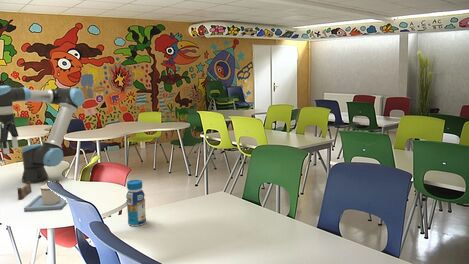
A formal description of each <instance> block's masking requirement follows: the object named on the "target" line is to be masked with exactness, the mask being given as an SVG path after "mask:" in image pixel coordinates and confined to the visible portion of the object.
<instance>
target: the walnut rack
mask: <svg viewBox="0 0 469 264" xmlns="http://www.w3.org/2000/svg"><path fill="white" fill-rule="evenodd" d="M55 181H56V182H58V183H59V184H60V180H59V179H55V180H54V182H55ZM31 184H32V183H30V181H27V182H26V183H25V185H24V186H23V187H18V188H16V189H17V196H18V201H19V200H20V201H21V200H23V199H24V198H26V197H27V196H28V195H29V194H30V193H32V185H31Z"/></svg>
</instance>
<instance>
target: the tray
mask: <svg viewBox="0 0 469 264" xmlns="http://www.w3.org/2000/svg"><path fill="white" fill-rule="evenodd" d="M67 204H68V203H66V200H64V199H63V198H61V197H60V202H59V203H57V204H53V205H44V204H43V203H42V194H39V195H37V196H36V197H35V198H34V199H32V201H30V202H29V203H28V204H27V205H25V206H24V208H23V212H24V213H29V212H30V213H31V212H32V213H33V212H45V211H46V212H48V211H61V210H63V208H64V207H66V205H67Z"/></svg>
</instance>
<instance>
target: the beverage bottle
mask: <svg viewBox="0 0 469 264" xmlns="http://www.w3.org/2000/svg"><path fill="white" fill-rule="evenodd" d="M126 188H127V190H128V191H127V192H126V196H125V198H126V202H125V203H126V206H127V208H126V209H127V223H128V225H129V226H130V225H131V226H130V227H140V226H139V225H141V226H142V225H143V226H144V224H146V223H147V217H146V199H145V192H144V190H143V181H142V179H131V180H129V181H127V182H126Z"/></svg>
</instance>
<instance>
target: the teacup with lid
mask: <svg viewBox="0 0 469 264" xmlns="http://www.w3.org/2000/svg"><path fill="white" fill-rule="evenodd" d="M50 181H51V180H48V181H47V182H50ZM40 192H41V193H40V195H42V203H43V204H44V205H53V204H57V203H59V202H60V196H58V195H57V194H55V193H54V192H53V191H51V190H50V189H49V188H48V186H47V183H45V184H44V185H41V186H40Z"/></svg>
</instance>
